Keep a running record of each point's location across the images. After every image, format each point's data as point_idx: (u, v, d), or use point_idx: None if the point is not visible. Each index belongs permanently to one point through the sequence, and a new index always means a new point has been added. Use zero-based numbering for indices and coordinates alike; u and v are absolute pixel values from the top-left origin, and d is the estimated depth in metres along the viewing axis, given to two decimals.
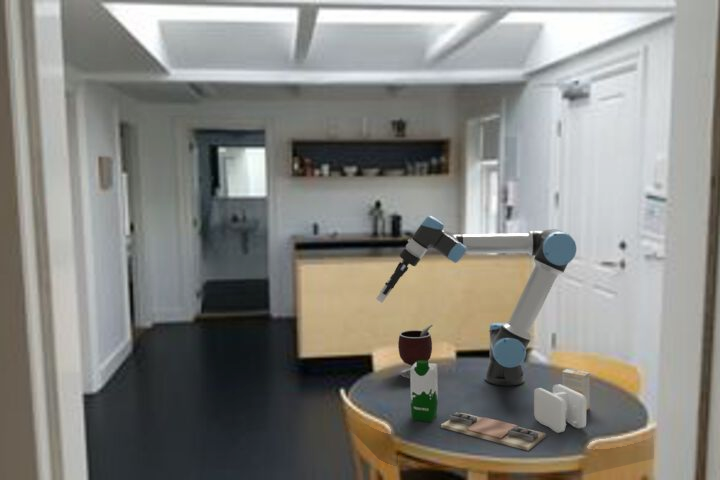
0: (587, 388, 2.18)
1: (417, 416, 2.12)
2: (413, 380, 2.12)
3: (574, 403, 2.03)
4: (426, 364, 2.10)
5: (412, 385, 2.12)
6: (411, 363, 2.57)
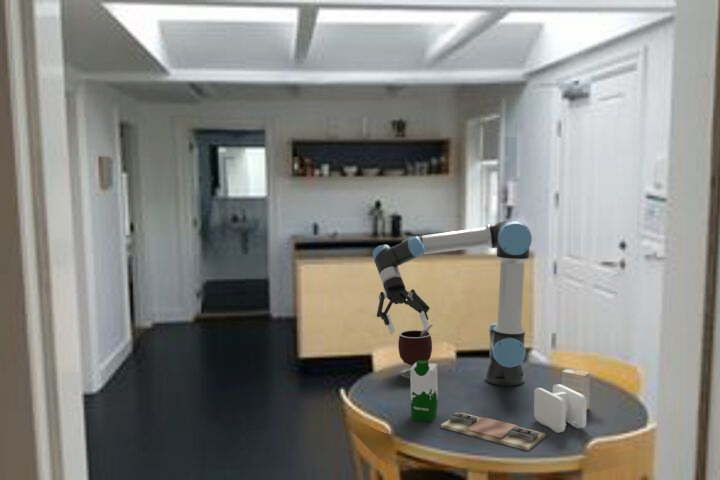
0: (587, 388, 2.18)
1: (417, 416, 2.12)
2: (413, 380, 2.12)
3: (574, 403, 2.03)
4: (426, 364, 2.10)
5: (412, 385, 2.12)
6: (411, 363, 2.57)
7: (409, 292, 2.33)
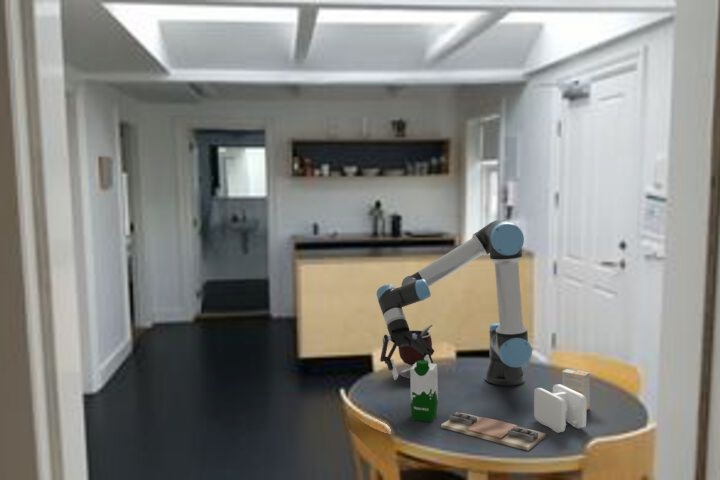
0: (587, 388, 2.18)
1: (417, 416, 2.12)
2: (413, 380, 2.12)
3: (574, 403, 2.03)
4: (426, 364, 2.10)
5: (412, 385, 2.12)
6: (411, 363, 2.57)
7: (413, 334, 2.29)
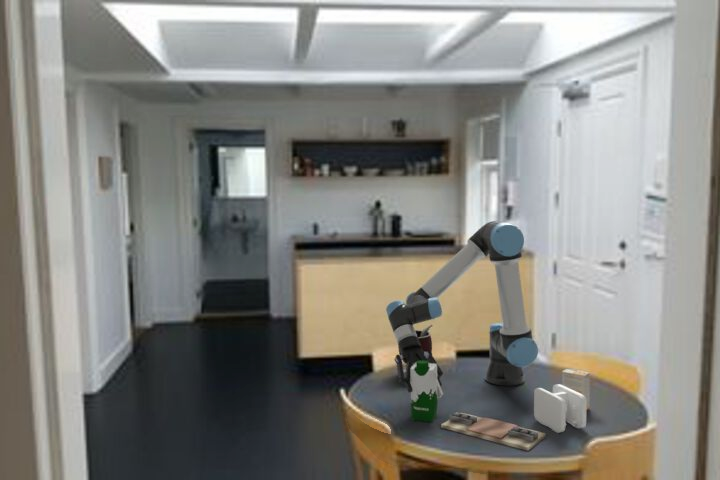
0: (587, 388, 2.18)
1: (417, 416, 2.12)
2: (413, 380, 2.12)
3: (574, 403, 2.03)
4: (426, 364, 2.10)
5: None
6: None
7: (425, 353, 2.23)
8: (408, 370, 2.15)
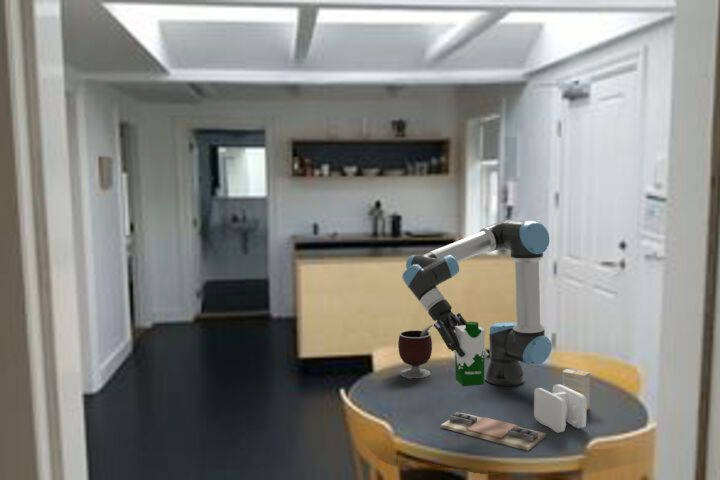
0: (587, 388, 2.18)
1: (469, 382, 2.00)
2: (465, 344, 1.99)
3: (574, 403, 2.03)
4: None
5: None
6: (411, 363, 2.57)
7: (456, 316, 2.11)
8: (453, 334, 2.01)
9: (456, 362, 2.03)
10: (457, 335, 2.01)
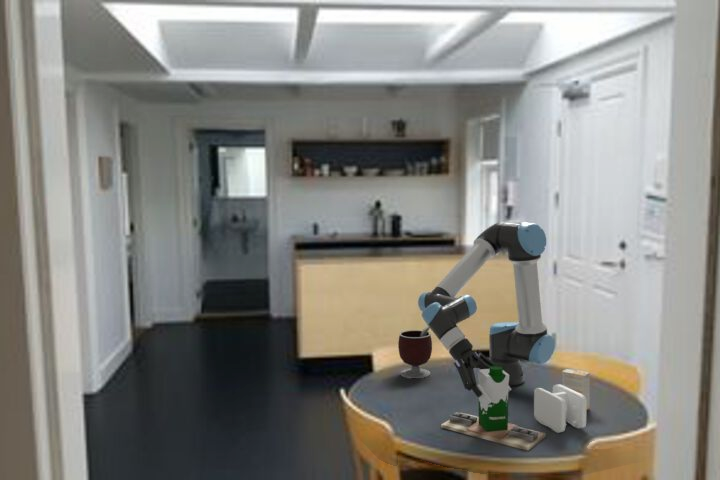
0: (587, 388, 2.18)
1: (493, 427, 1.98)
2: (489, 389, 1.97)
3: (574, 403, 2.03)
4: (502, 369, 1.97)
5: (487, 394, 1.97)
6: (411, 363, 2.57)
7: (476, 353, 2.09)
8: (472, 374, 1.98)
9: (479, 407, 2.01)
10: (481, 379, 1.99)
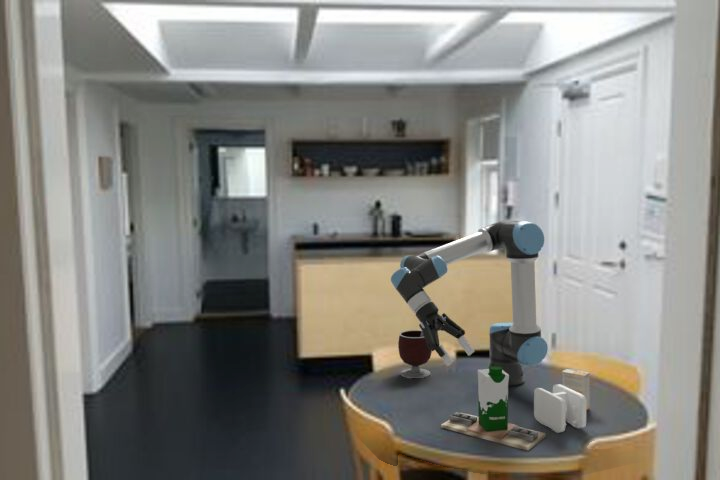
0: (587, 388, 2.18)
1: (493, 427, 1.98)
2: (489, 389, 1.97)
3: (574, 403, 2.03)
4: (501, 369, 1.97)
5: (487, 394, 1.97)
6: (411, 363, 2.57)
7: (441, 317, 2.17)
8: (436, 335, 2.06)
9: (479, 407, 2.01)
10: (480, 380, 1.99)
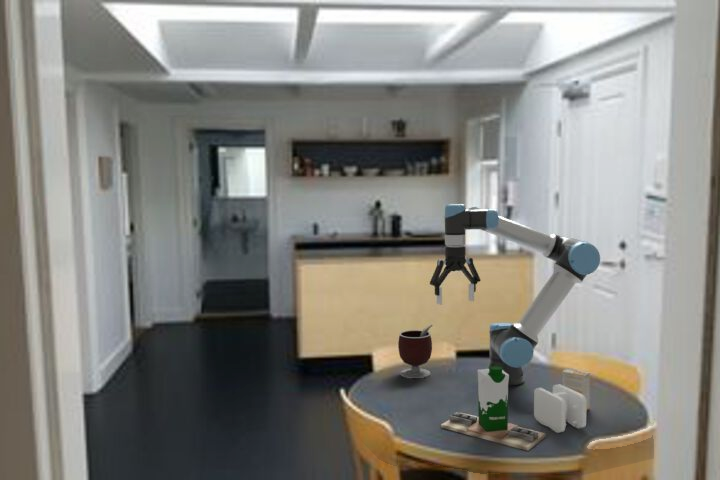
0: (587, 388, 2.18)
1: (493, 427, 1.98)
2: (489, 389, 1.97)
3: (574, 403, 2.03)
4: (501, 369, 1.97)
5: (487, 394, 1.97)
6: (411, 363, 2.57)
7: (467, 260, 2.36)
8: (443, 277, 2.32)
9: (479, 407, 2.01)
10: (480, 380, 1.99)
